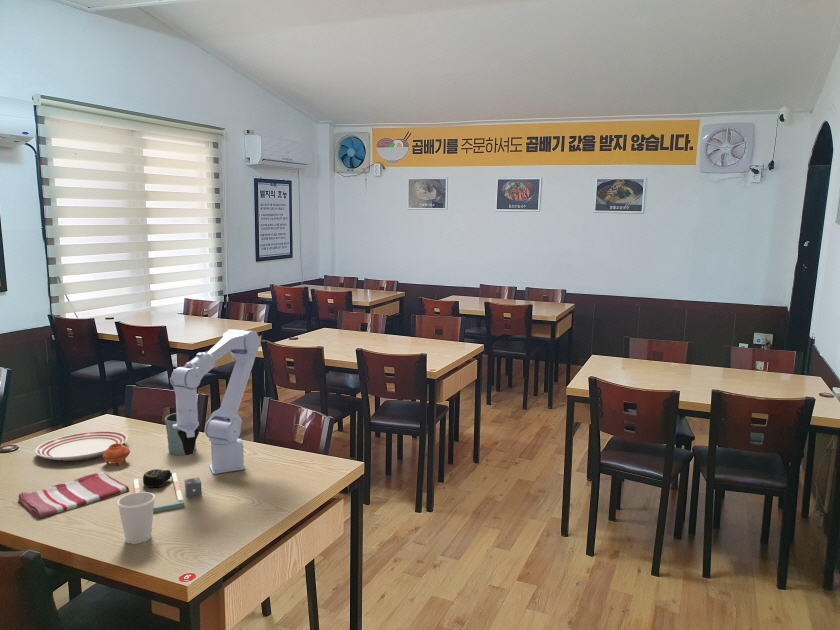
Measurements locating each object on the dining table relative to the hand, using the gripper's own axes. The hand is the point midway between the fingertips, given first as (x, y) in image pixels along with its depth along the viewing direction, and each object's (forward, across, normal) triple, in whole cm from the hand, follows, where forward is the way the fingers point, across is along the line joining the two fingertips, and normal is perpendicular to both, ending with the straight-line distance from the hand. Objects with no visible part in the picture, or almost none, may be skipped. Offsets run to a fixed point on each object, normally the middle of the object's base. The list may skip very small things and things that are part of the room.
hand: (189, 454), depth 182 cm
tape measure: (+10, -5, -8) cm, 14 cm away
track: (+9, +3, -9) cm, 13 cm away
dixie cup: (+10, +28, -15) cm, 33 cm away
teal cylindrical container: (+10, -31, +1) cm, 32 cm away
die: (+10, +7, 0) cm, 12 cm away
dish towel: (+10, -6, -30) cm, 32 cm away
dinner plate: (+10, -45, -29) cm, 54 cm away
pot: (+10, -28, -19) cm, 35 cm away
